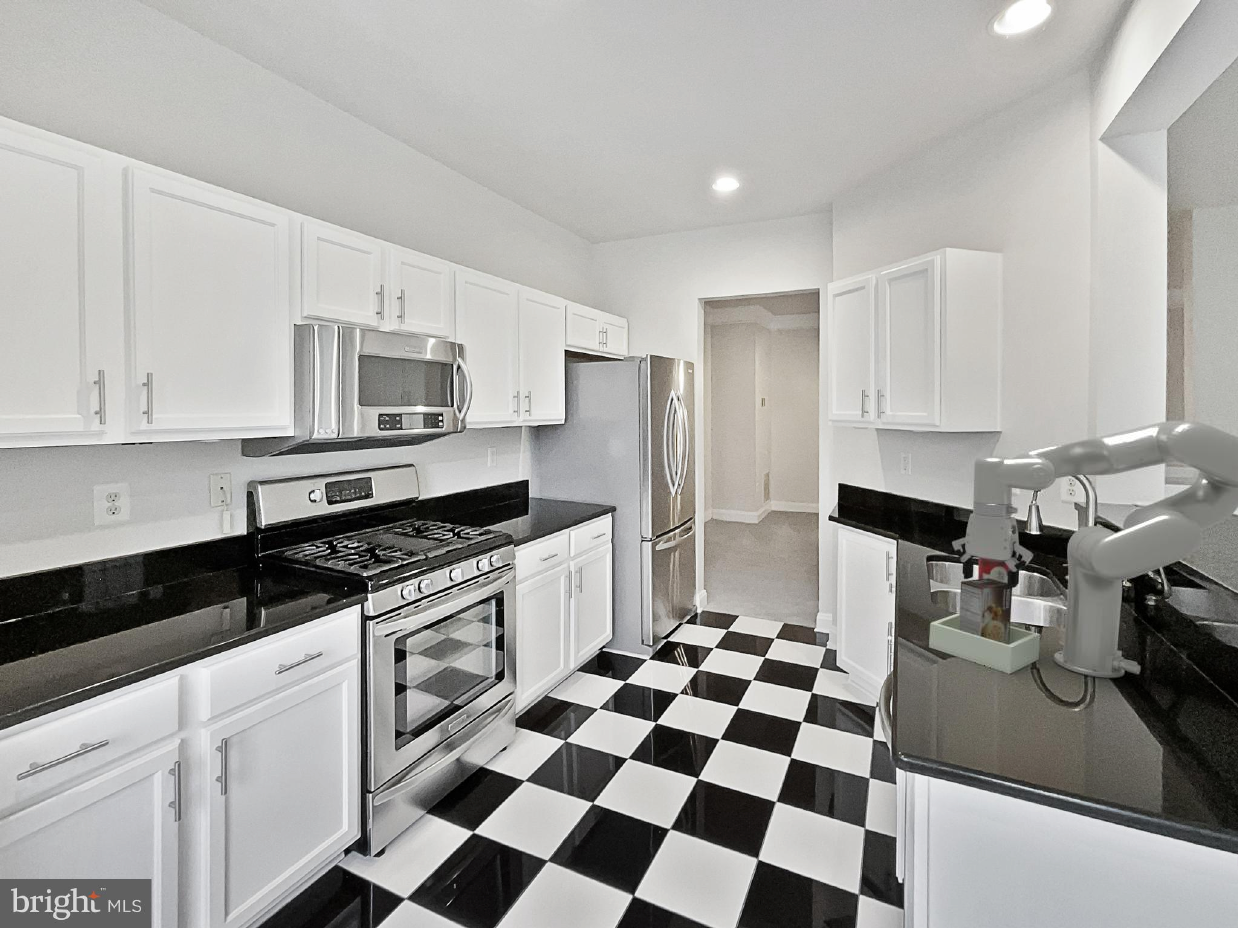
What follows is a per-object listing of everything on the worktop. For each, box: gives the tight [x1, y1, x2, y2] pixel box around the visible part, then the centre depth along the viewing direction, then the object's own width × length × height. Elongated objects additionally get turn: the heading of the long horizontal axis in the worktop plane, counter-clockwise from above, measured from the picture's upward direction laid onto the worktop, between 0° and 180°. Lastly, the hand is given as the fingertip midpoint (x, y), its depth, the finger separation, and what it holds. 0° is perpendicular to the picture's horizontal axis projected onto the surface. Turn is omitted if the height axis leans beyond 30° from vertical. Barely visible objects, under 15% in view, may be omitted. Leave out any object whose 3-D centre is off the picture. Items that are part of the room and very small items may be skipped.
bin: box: [928, 612, 1041, 675], centre depth 146 cm, size 18×14×6 cm
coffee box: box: [959, 578, 1013, 645], centre depth 146 cm, size 9×6×16 cm
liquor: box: [977, 557, 1010, 583], centre depth 159 cm, size 7×7×28 cm
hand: (989, 582), depth 145 cm, fingers open, 9 cm apart
